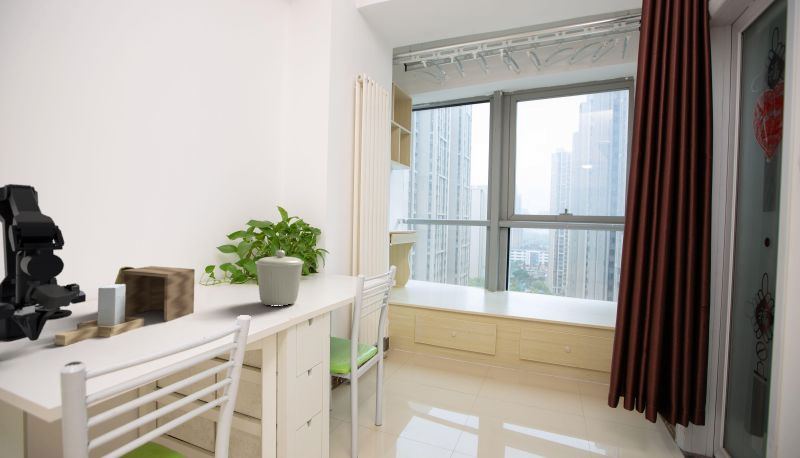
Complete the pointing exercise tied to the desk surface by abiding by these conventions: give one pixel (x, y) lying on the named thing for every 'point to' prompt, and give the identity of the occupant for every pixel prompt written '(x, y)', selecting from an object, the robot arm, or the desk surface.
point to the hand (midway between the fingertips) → (33, 340)
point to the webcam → (60, 313)
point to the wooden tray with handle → (97, 330)
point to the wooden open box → (159, 291)
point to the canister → (279, 279)
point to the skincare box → (111, 305)
